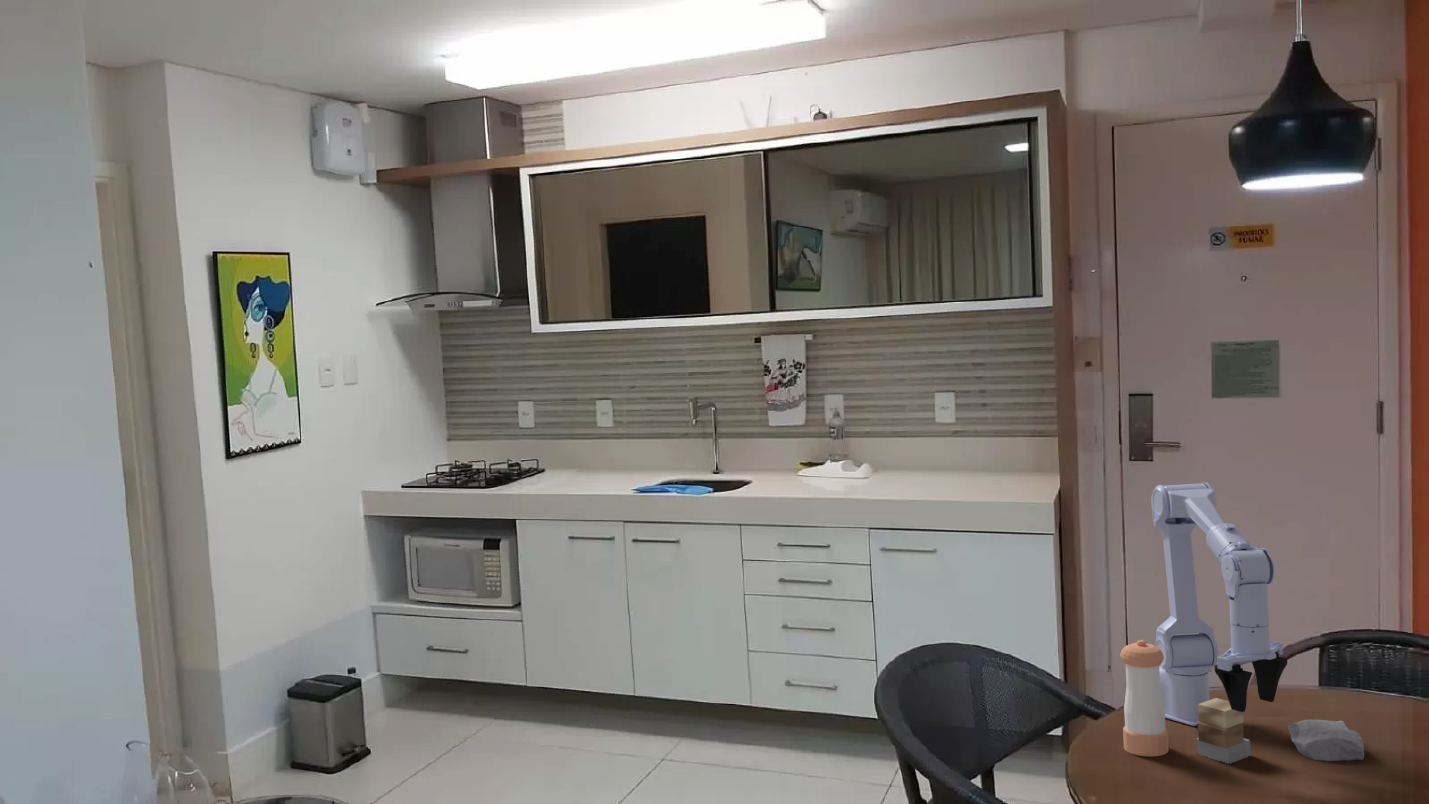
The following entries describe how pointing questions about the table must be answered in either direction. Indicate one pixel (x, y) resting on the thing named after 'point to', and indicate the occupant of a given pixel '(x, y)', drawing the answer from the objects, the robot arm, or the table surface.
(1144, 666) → the pepper shaker
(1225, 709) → the oak block
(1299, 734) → the stone block
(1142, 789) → the table surface
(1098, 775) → the table surface
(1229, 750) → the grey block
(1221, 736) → the walnut block
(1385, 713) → the table surface
